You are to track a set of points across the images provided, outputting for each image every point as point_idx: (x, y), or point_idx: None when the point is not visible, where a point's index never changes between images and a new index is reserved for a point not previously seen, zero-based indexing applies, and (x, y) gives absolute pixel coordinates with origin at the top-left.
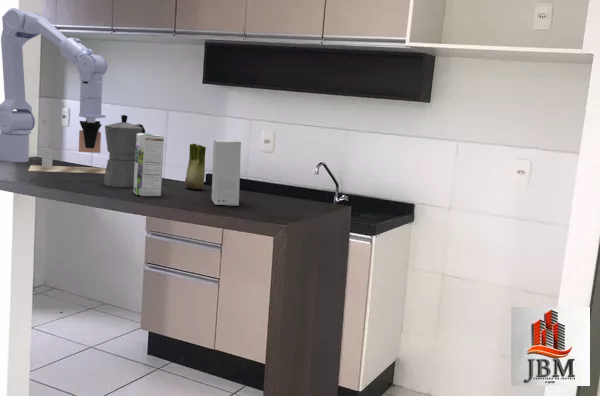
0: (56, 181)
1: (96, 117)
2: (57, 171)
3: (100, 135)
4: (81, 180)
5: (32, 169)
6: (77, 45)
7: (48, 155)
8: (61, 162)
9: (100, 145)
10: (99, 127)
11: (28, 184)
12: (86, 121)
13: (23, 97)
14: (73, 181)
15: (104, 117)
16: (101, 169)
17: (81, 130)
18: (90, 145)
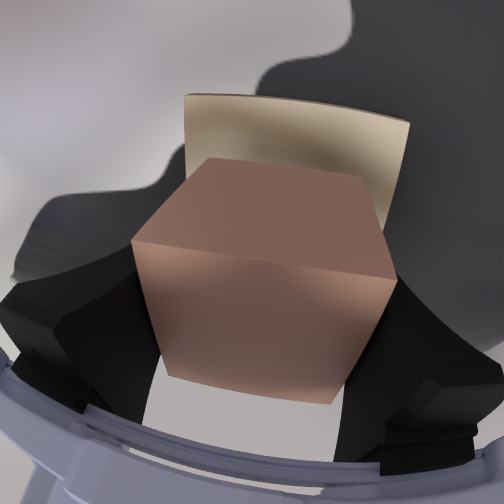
0: (468, 306)
1: (482, 494)
2: None
3: (391, 262)
4: (473, 242)
5: None
6: None
7: None
8: (38, 232)
9: (371, 202)
10: (490, 363)
11: (481, 351)
12: (118, 414)
13: (42, 478)
14: (483, 268)
15: (299, 501)
16: (256, 116)
17: (188, 372)
18: None
